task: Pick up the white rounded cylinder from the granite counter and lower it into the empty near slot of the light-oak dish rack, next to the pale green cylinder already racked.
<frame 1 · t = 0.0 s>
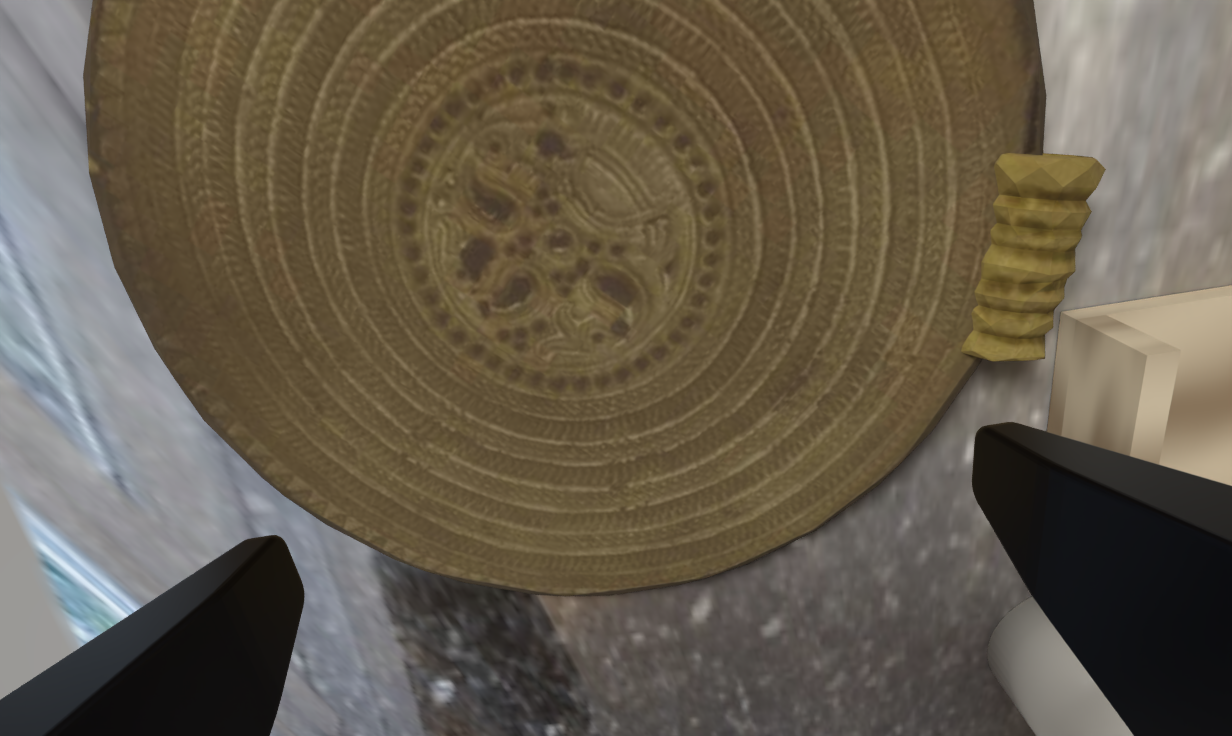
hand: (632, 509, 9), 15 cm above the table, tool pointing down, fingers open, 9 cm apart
white rounded cylinder: (1054, 639, 31), on the table
decorative disc: (593, 220, 23), on the table
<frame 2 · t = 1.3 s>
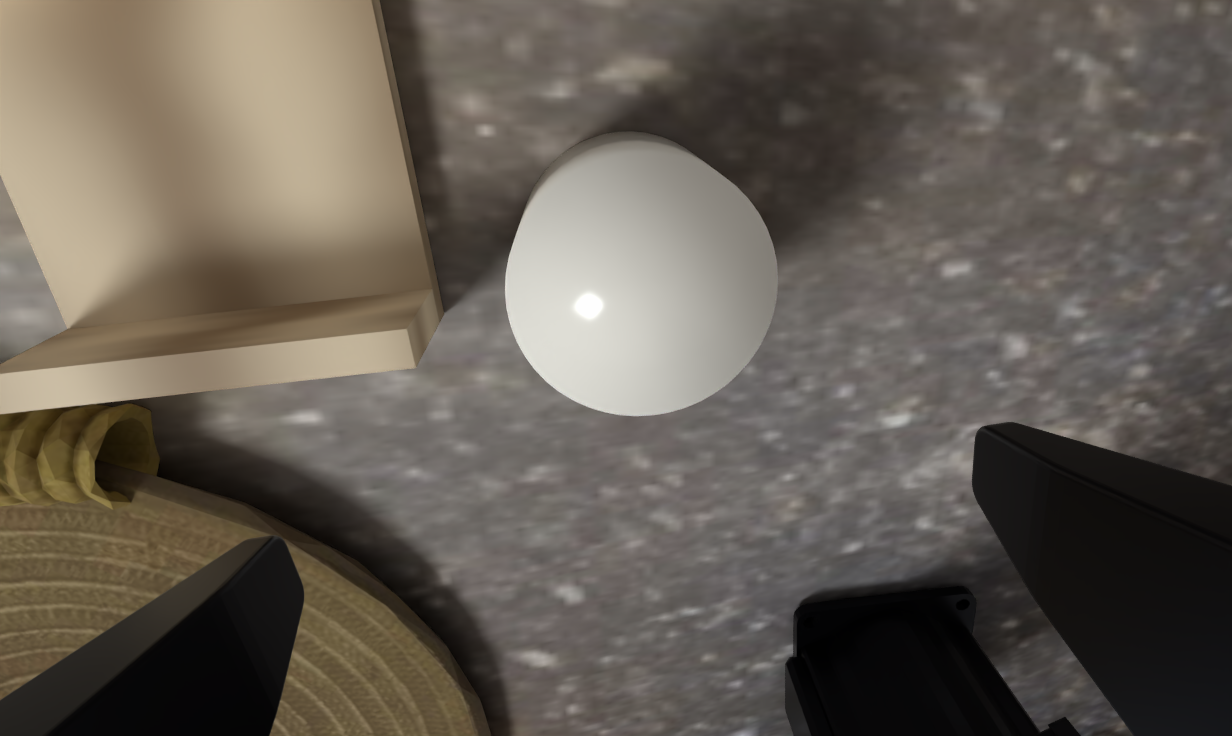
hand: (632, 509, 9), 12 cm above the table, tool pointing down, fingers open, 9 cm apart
white rounded cylinder: (626, 241, 20), on the table
decorative disc: (124, 731, 27), on the table
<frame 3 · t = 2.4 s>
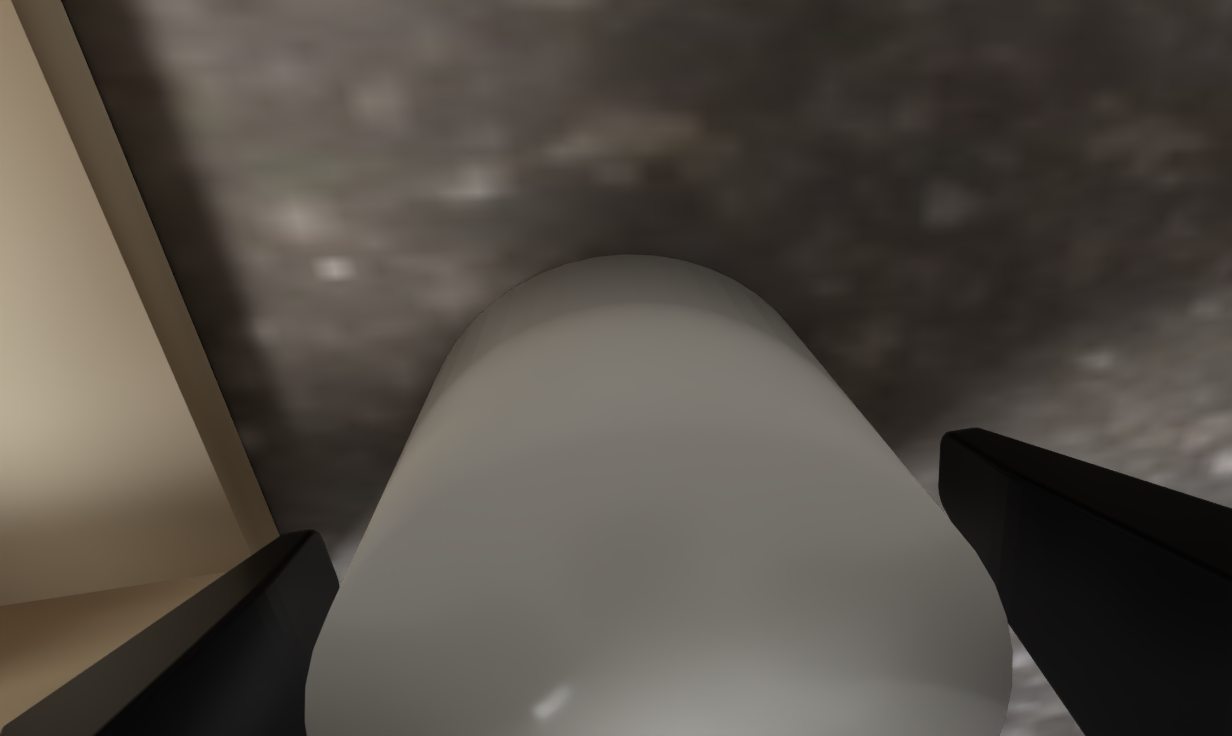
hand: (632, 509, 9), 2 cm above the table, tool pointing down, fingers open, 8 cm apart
white rounded cylinder: (627, 448, 11), on the table
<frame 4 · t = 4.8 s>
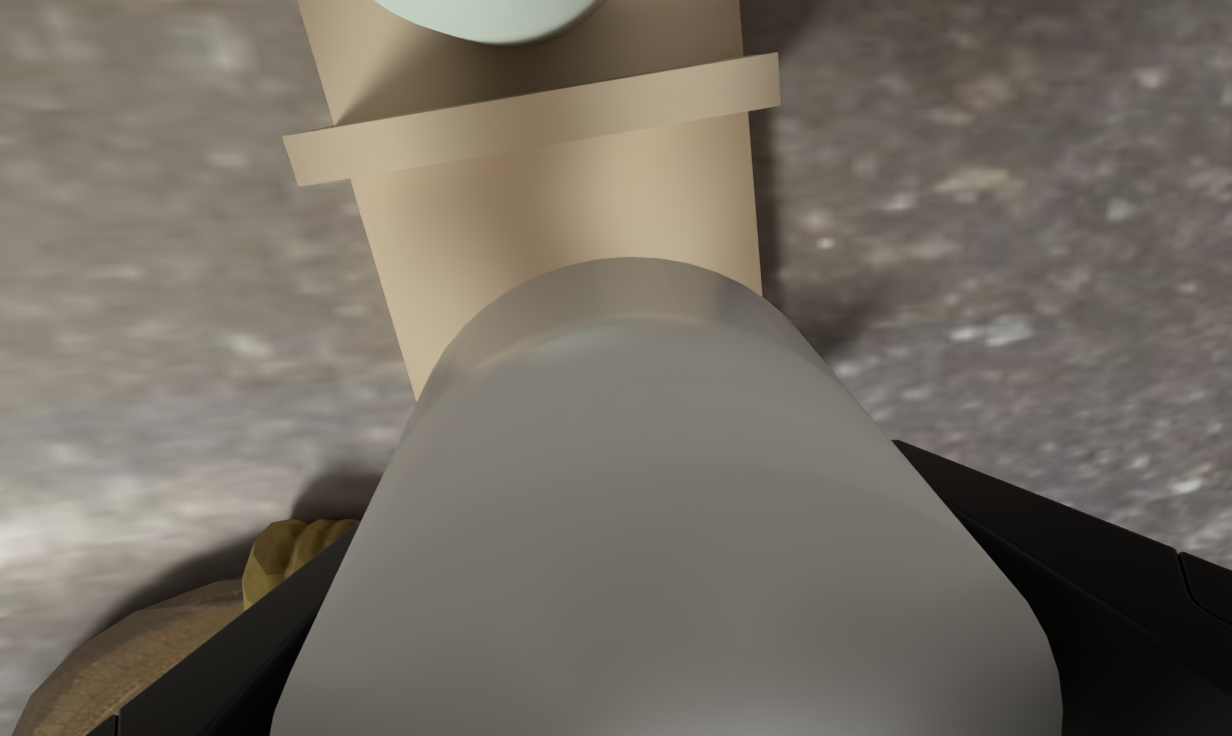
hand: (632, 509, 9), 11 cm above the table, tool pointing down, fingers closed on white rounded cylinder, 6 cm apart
white rounded cylinder: (627, 463, 10), point 10 cm above the table, touching gripper
dish rack: (543, 111, 18), on the table
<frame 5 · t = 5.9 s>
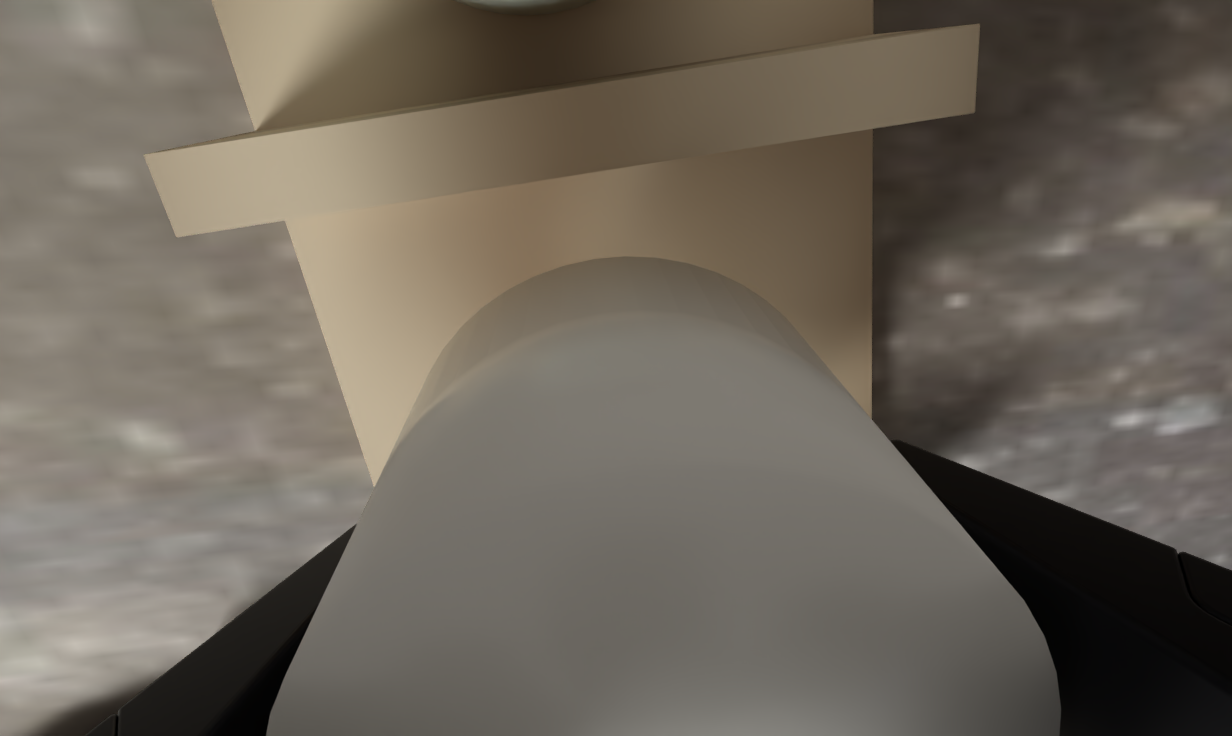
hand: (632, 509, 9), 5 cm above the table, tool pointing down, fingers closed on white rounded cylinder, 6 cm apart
white rounded cylinder: (626, 463, 10), point 4 cm above the table, touching gripper
dish rack: (569, 112, 12), on the table
when the fingers open (4 cm above the table, at t = 6.6 s): white rounded cylinder drops 3 cm, resting on dish rack.
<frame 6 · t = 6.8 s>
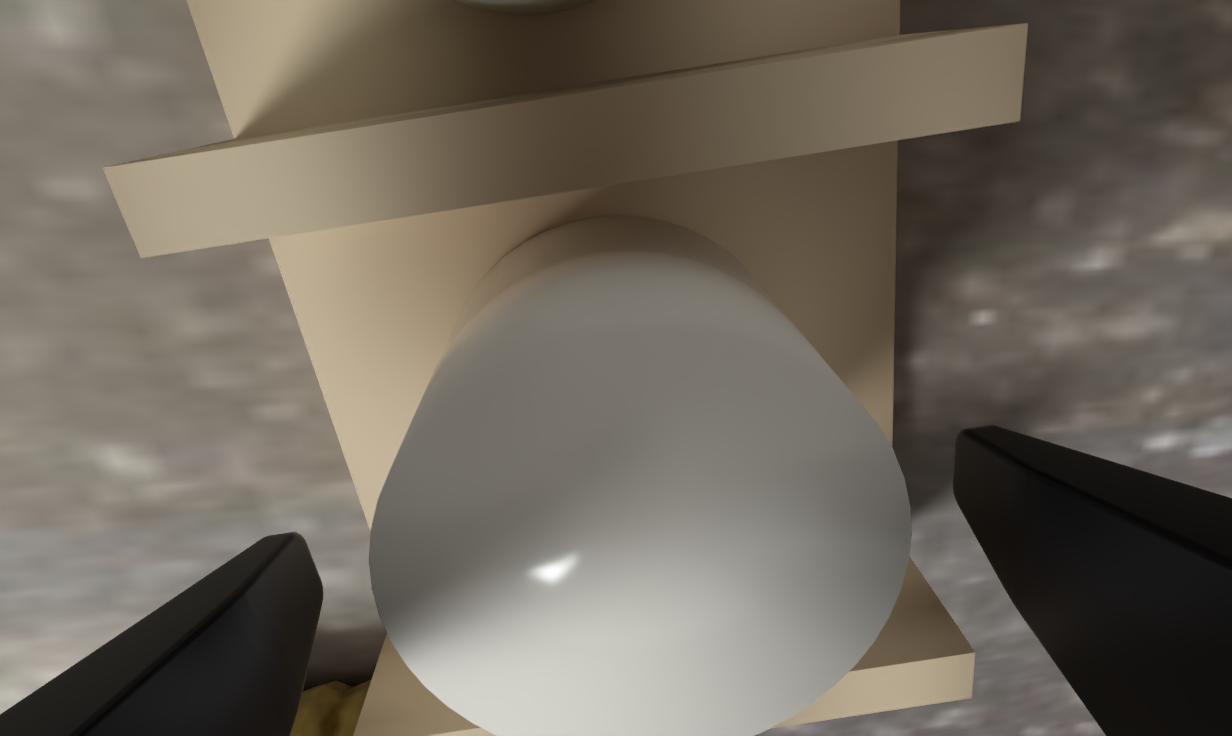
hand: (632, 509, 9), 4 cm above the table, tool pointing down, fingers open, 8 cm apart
white rounded cylinder: (617, 385, 12), point 1 cm above the table, touching dish rack
dish rack: (571, 118, 11), on the table
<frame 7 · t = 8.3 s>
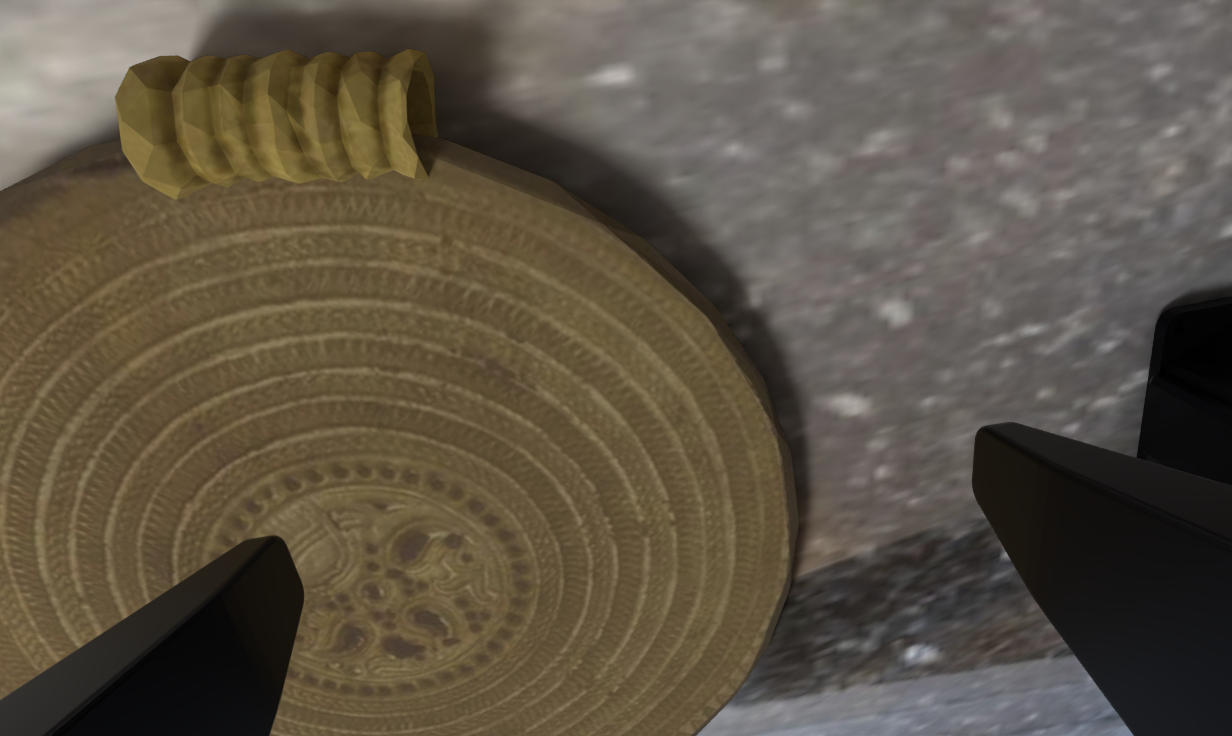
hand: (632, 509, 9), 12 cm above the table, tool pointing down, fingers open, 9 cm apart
decorative disc: (370, 535, 24), on the table
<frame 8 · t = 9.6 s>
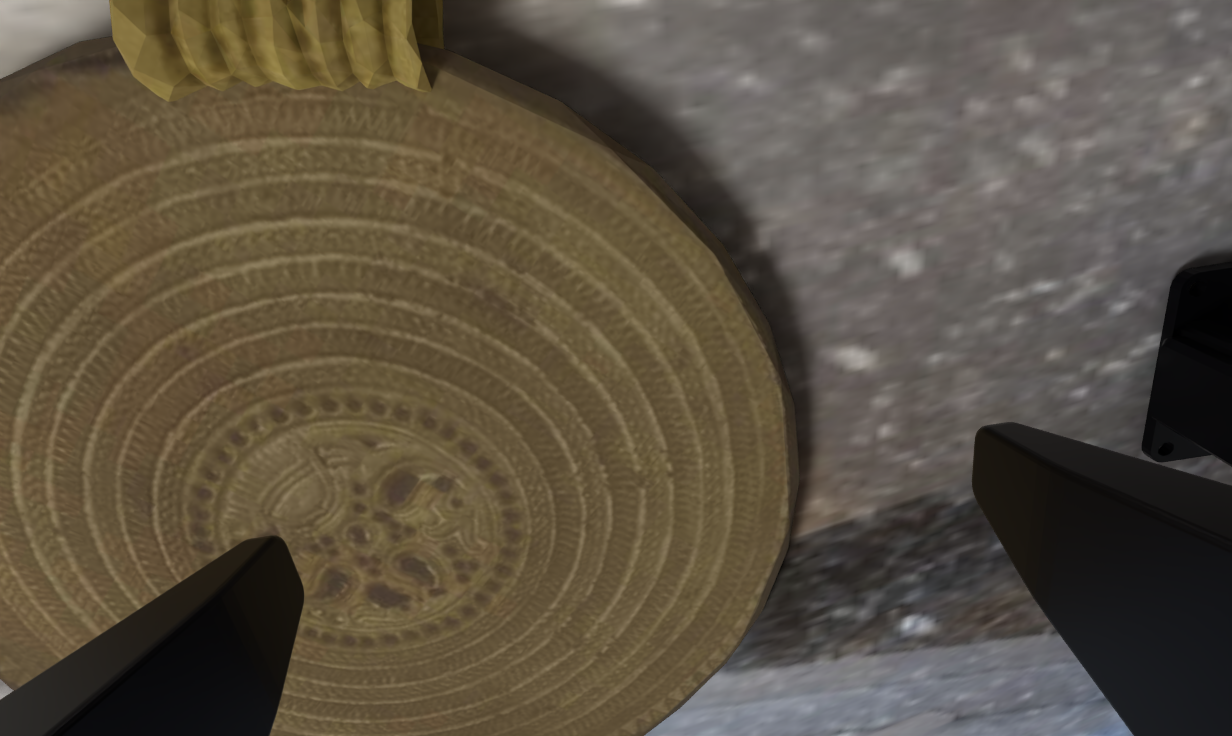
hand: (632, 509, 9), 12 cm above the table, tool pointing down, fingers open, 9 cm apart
decorative disc: (358, 479, 23), on the table
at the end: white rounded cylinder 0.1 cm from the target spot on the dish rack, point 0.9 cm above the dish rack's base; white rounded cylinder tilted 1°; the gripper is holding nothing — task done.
